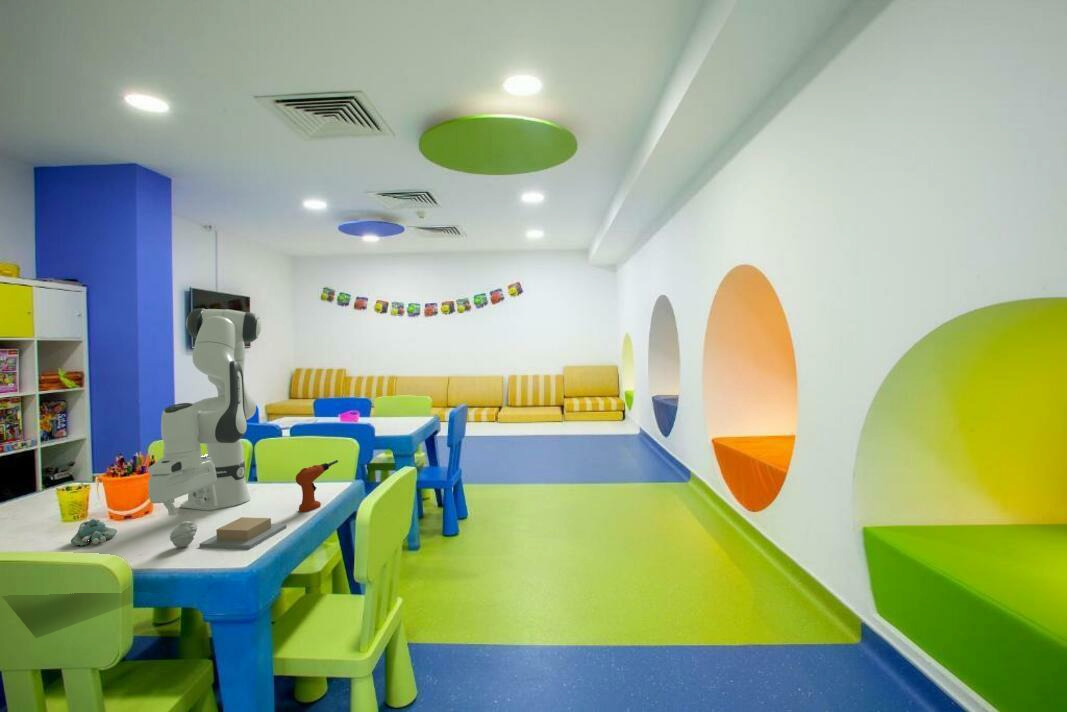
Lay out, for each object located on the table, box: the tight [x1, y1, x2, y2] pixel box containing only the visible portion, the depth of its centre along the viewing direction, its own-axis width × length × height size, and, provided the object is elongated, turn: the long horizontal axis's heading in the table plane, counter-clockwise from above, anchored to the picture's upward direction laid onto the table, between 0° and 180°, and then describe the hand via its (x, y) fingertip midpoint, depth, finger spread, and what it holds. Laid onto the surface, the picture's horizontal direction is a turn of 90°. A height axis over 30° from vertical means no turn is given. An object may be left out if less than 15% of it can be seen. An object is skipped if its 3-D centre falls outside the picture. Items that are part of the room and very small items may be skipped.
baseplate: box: [199, 517, 287, 550], centre depth 151 cm, size 16×16×4 cm
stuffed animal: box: [70, 518, 118, 547], centre depth 151 cm, size 11×7×12 cm
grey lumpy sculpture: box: [169, 520, 198, 549], centre depth 145 cm, size 6×7×7 cm
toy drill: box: [295, 459, 339, 513], centre depth 180 cm, size 5×19×15 cm, turn 156°
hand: (187, 509), depth 145 cm, fingers open, 8 cm apart
